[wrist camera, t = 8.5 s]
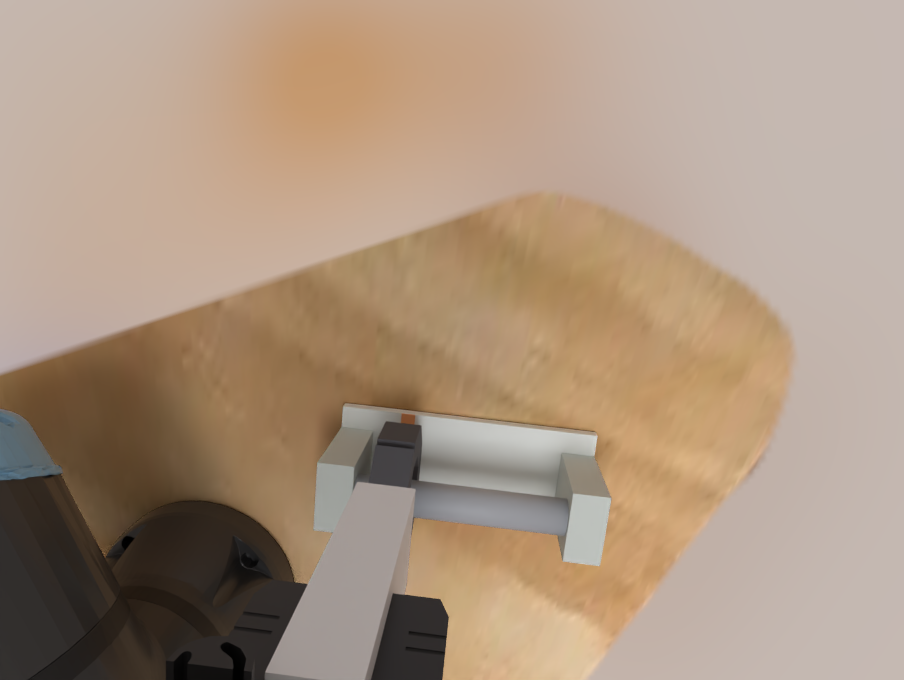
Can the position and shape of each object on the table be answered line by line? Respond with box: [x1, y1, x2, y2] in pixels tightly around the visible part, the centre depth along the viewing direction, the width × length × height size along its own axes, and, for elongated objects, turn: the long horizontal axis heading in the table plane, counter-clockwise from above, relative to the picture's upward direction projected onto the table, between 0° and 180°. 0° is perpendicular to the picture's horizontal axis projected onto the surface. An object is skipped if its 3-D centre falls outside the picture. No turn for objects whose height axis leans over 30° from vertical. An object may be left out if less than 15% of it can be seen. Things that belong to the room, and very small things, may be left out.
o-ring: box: [368, 421, 422, 535], centre depth 41 cm, size 2×9×9 cm, turn 174°
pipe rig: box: [314, 403, 611, 566], centre depth 43 cm, size 19×8×7 cm, turn 84°
